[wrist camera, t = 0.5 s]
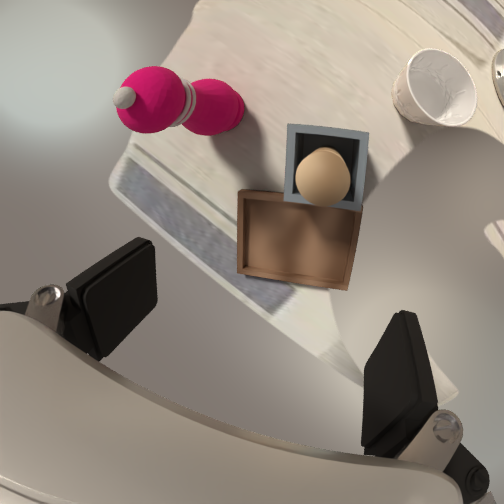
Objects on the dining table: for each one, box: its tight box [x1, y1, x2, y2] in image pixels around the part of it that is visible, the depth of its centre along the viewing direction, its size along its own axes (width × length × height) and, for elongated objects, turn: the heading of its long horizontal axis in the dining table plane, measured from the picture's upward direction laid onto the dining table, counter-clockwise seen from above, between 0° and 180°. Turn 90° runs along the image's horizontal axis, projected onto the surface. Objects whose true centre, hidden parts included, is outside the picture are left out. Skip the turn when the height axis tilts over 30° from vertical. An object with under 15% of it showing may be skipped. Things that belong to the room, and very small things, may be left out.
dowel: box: [296, 146, 350, 206], centre depth 24 cm, size 4×4×16 cm
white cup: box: [391, 48, 477, 127], centre depth 20 cm, size 8×8×10 cm
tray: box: [237, 189, 363, 291], centre depth 36 cm, size 16×12×2 cm
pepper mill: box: [113, 66, 244, 136], centre depth 24 cm, size 7×7×20 cm
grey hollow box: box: [284, 124, 369, 211], centre depth 28 cm, size 8×8×9 cm
